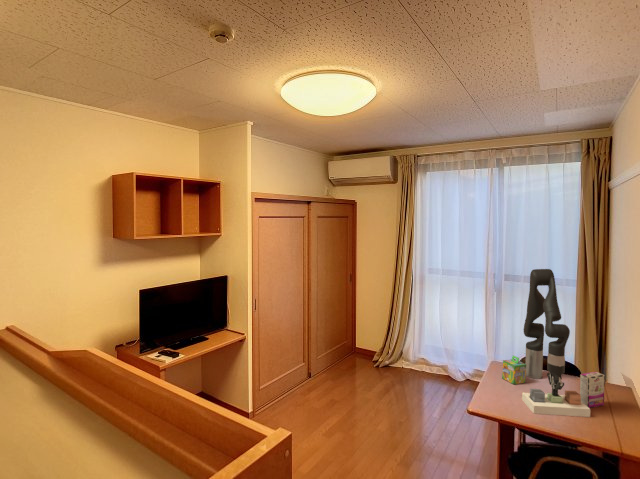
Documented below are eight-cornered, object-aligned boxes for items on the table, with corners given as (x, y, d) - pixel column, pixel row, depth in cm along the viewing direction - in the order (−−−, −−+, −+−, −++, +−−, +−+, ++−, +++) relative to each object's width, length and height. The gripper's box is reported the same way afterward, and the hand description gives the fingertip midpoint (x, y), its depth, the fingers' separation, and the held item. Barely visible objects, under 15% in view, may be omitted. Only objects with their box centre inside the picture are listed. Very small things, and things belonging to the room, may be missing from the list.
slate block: (529, 399, 191) (530, 388, 190) (539, 400, 190) (540, 389, 190) (534, 404, 186) (534, 393, 185) (544, 405, 185) (544, 393, 185)
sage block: (546, 404, 190) (547, 392, 189) (557, 404, 189) (557, 393, 189) (551, 408, 185) (552, 397, 184) (562, 409, 184) (562, 398, 184)
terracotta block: (564, 401, 189) (564, 390, 188) (574, 402, 188) (575, 390, 188) (569, 406, 184) (570, 395, 183) (580, 407, 183) (581, 395, 183)
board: (521, 399, 196) (522, 392, 195) (573, 402, 192) (574, 395, 192) (533, 413, 182) (534, 405, 182) (590, 417, 178) (590, 409, 178)
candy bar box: (594, 401, 194) (596, 371, 193) (604, 405, 189) (605, 375, 188) (578, 403, 191) (579, 373, 190) (587, 408, 186) (589, 377, 186)
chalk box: (501, 378, 222) (502, 354, 221) (513, 376, 225) (514, 353, 224) (513, 385, 213) (514, 360, 212) (526, 383, 216) (526, 358, 215)
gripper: (541, 357, 193) (540, 389, 194) (554, 367, 180) (553, 401, 181) (557, 358, 192) (556, 390, 193) (571, 368, 179) (569, 402, 180)
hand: (554, 395), depth 187 cm, fingers closed
